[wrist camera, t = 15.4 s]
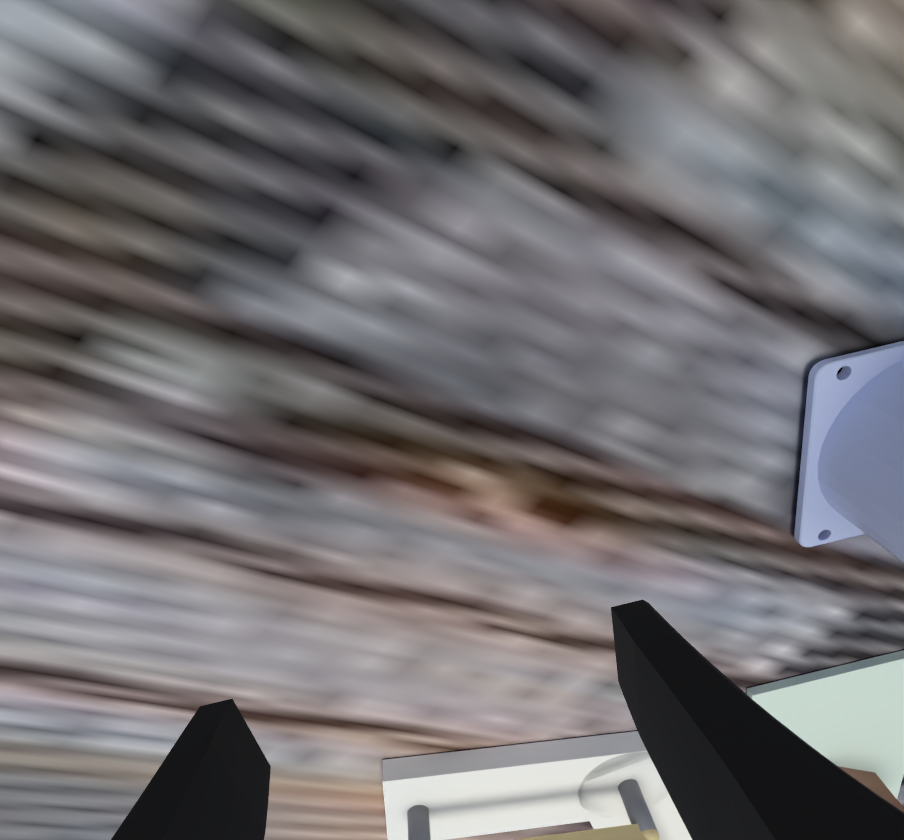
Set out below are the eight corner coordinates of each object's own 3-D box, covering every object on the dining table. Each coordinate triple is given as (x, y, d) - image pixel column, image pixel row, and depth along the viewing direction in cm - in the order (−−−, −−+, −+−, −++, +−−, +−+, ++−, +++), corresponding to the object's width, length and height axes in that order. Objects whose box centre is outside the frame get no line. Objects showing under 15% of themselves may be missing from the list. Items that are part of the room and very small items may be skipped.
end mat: (928, 644, 26) (935, 650, 26) (875, 856, 34) (880, 863, 34) (746, 688, 26) (752, 695, 26) (736, 890, 34) (740, 898, 34)
